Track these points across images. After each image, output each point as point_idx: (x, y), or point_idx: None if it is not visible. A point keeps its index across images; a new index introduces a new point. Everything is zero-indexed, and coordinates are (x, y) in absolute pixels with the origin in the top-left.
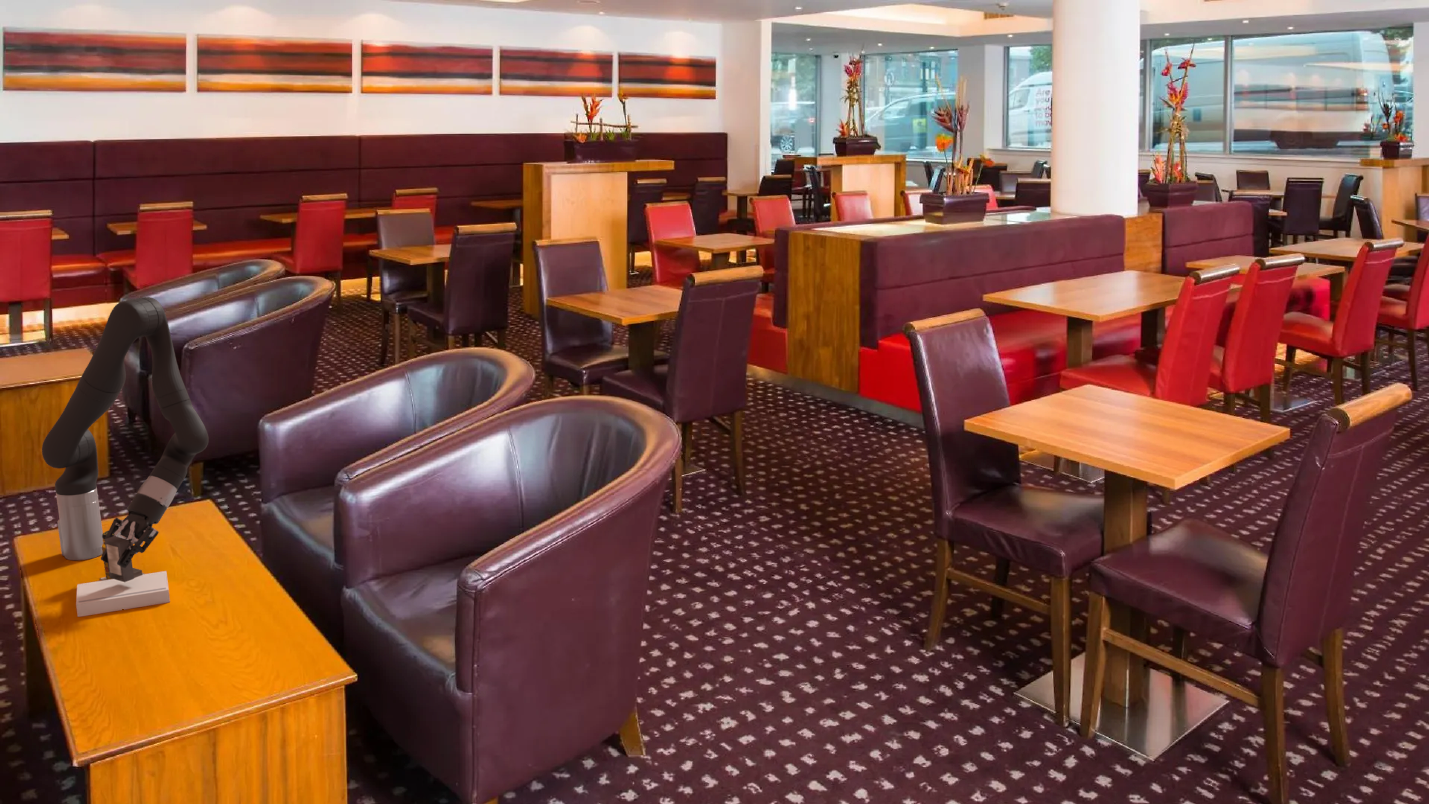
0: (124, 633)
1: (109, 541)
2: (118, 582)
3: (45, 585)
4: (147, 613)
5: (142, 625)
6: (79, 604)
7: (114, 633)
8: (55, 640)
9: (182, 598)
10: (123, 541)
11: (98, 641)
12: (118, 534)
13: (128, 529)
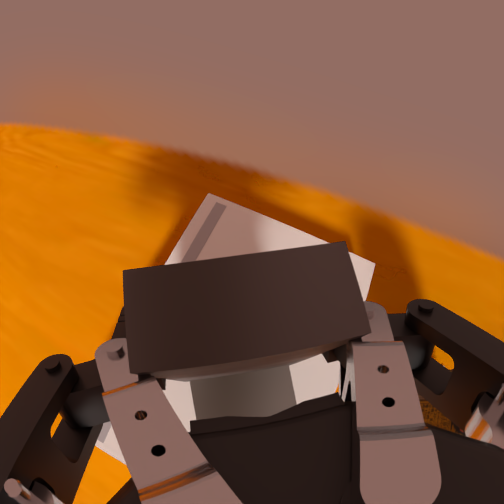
0: (30, 241)
1: (277, 254)
2: (296, 365)
3: (467, 256)
4: (73, 341)
5: (27, 289)
6: (204, 200)
7: (47, 227)
8: (128, 143)
9: (97, 464)
10: (134, 317)
11: (48, 191)
12: (351, 364)
13: (299, 463)
